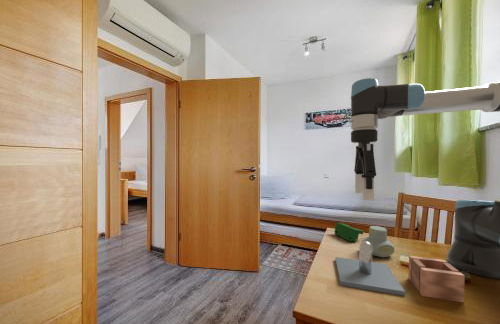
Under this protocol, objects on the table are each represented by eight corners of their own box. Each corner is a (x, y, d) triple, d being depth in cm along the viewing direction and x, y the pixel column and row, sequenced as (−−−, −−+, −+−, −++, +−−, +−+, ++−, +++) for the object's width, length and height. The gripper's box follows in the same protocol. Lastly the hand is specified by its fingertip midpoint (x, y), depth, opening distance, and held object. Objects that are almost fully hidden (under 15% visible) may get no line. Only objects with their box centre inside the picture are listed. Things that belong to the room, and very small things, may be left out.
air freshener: (371, 259, 80) (372, 232, 79) (357, 250, 88) (358, 225, 88) (398, 258, 81) (399, 231, 81) (381, 248, 89) (382, 224, 89)
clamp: (357, 250, 98) (367, 234, 95) (346, 248, 96) (357, 232, 93) (341, 231, 109) (350, 217, 106) (331, 229, 107) (340, 214, 104)
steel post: (370, 269, 70) (370, 240, 70) (372, 275, 66) (373, 244, 66) (358, 268, 71) (358, 238, 71) (360, 273, 67) (361, 242, 67)
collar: (443, 283, 65) (444, 259, 65) (463, 302, 56) (464, 275, 56) (408, 278, 67) (409, 255, 67) (422, 295, 59) (423, 269, 59)
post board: (386, 267, 74) (386, 263, 74) (404, 295, 59) (405, 291, 59) (335, 260, 78) (335, 257, 78) (340, 285, 63) (340, 281, 63)
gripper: (346, 134, 83) (346, 190, 83) (357, 124, 59) (357, 203, 60) (368, 133, 81) (368, 191, 81) (389, 123, 57) (389, 204, 57)
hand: (363, 196), depth 70 cm, fingers open, 13 cm apart
